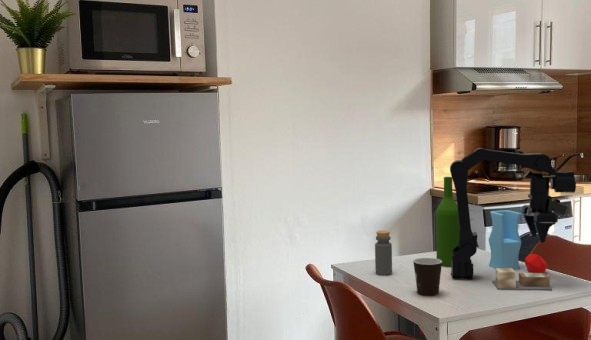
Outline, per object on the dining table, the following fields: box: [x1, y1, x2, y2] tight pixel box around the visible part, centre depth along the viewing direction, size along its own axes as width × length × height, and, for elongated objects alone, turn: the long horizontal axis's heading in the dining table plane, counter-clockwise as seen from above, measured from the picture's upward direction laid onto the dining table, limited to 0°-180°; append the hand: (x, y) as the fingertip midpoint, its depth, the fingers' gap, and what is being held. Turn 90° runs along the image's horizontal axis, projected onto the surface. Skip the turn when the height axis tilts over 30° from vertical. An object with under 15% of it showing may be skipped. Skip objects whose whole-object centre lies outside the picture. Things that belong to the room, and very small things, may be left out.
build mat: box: [491, 279, 553, 291], centre depth 175 cm, size 16×9×1 cm, turn 81°
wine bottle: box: [435, 176, 460, 268], centre depth 204 cm, size 9×9×32 cm
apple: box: [524, 253, 548, 273], centre depth 191 cm, size 7×7×8 cm
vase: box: [488, 209, 522, 271], centre depth 198 cm, size 8×8×20 cm
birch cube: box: [495, 268, 517, 288], centre depth 175 cm, size 5×5×5 cm
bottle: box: [374, 230, 393, 277], centre depth 195 cm, size 6×6×15 cm
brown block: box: [518, 272, 551, 288], centre depth 175 cm, size 8×5×3 cm, turn 81°
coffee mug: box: [412, 257, 443, 297], centre depth 172 cm, size 12×9×10 cm
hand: (538, 239), depth 180 cm, fingers open, 9 cm apart
